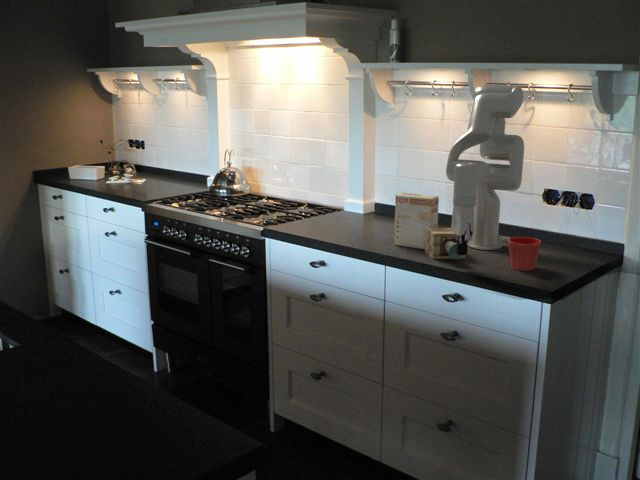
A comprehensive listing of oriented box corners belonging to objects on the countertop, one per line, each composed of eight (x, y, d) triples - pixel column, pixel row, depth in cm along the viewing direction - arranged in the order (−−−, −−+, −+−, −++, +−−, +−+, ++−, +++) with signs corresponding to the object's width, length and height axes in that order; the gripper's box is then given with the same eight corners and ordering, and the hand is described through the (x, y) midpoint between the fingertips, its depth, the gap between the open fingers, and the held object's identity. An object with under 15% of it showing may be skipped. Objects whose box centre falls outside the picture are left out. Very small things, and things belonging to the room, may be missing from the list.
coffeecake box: (437, 246, 270) (439, 196, 265) (429, 250, 264) (431, 198, 260) (402, 241, 278) (403, 192, 274) (393, 245, 272) (395, 194, 268)
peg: (464, 259, 245) (465, 243, 244) (448, 259, 244) (449, 243, 243) (454, 251, 255) (455, 236, 254) (439, 252, 255) (439, 236, 253)
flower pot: (501, 269, 239) (503, 241, 237) (512, 262, 248) (514, 235, 246) (533, 274, 234) (535, 245, 231) (543, 266, 242) (545, 239, 240)
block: (465, 258, 253) (466, 233, 251) (432, 258, 252) (433, 234, 250) (456, 251, 263) (457, 227, 261) (425, 252, 261) (426, 228, 259)
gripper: (446, 197, 241) (444, 249, 246) (461, 205, 227) (458, 260, 231) (467, 196, 242) (465, 248, 247) (483, 204, 228) (480, 259, 232)
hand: (461, 254), depth 239 cm, fingers closed
